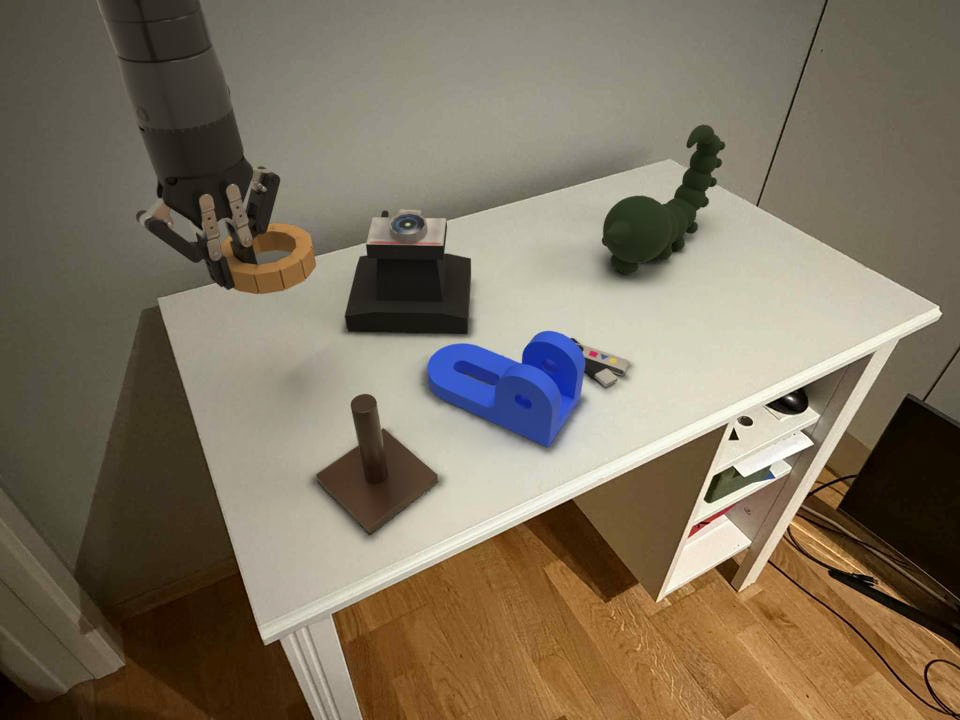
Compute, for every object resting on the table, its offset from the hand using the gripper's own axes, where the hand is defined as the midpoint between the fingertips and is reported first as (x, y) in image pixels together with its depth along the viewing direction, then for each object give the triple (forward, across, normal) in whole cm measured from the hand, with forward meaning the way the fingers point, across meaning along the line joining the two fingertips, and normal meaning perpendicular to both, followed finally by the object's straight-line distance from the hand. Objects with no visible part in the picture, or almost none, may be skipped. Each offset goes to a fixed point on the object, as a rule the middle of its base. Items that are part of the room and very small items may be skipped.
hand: (237, 280), depth 64 cm
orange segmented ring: (0, -4, 0) cm, 4 cm away
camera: (+17, -24, -3) cm, 30 cm away
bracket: (+17, -19, +18) cm, 32 cm away
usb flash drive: (+17, -32, +23) cm, 43 cm away
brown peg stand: (+18, -1, +18) cm, 25 cm away
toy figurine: (+17, -57, +15) cm, 62 cm away
